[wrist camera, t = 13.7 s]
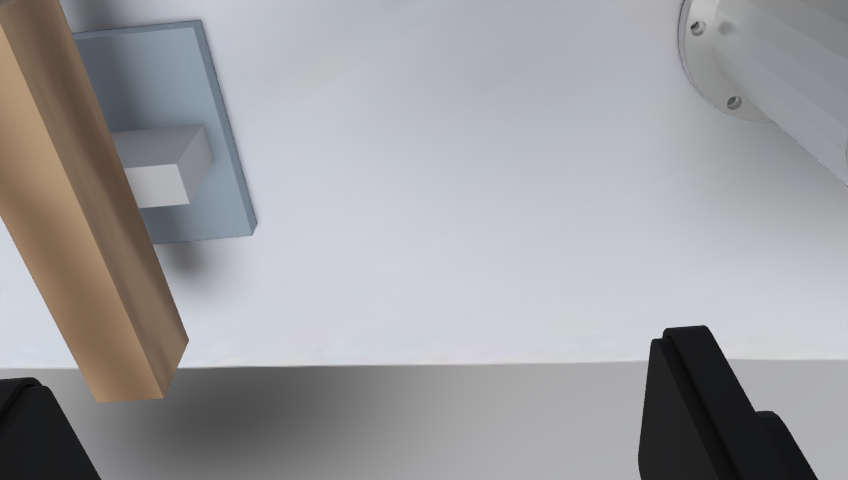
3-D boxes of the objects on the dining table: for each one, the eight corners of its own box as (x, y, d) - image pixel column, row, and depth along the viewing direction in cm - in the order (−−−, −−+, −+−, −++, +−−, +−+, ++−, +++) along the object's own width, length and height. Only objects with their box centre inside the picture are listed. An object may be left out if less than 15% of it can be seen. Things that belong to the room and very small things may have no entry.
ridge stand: (200, 20, 39) (161, 57, 33) (256, 224, 46) (232, 284, 40) (2, 40, 39) (-71, 80, 34) (89, 238, 47) (42, 299, 41)
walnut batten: (52, -16, 31) (-6, 11, 27) (189, 340, 43) (163, 397, 39) (-30, -8, 31) (-100, 21, 27) (128, 345, 43) (97, 402, 39)
